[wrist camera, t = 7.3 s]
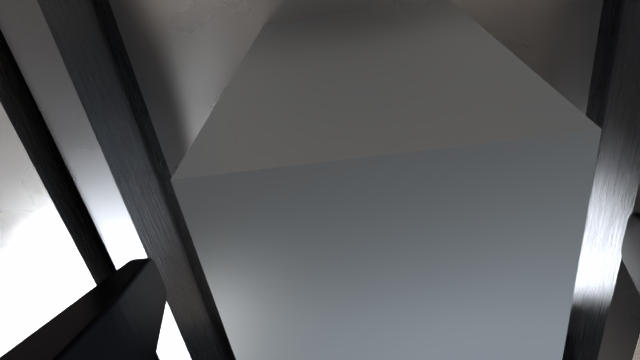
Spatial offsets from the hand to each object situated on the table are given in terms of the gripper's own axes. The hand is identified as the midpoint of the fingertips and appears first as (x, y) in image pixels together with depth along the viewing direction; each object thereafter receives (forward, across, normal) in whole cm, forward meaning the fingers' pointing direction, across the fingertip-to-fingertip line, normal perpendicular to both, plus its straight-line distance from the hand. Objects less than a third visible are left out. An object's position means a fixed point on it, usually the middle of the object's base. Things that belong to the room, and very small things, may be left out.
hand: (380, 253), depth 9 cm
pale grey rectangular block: (+2, 0, 0) cm, 2 cm away
